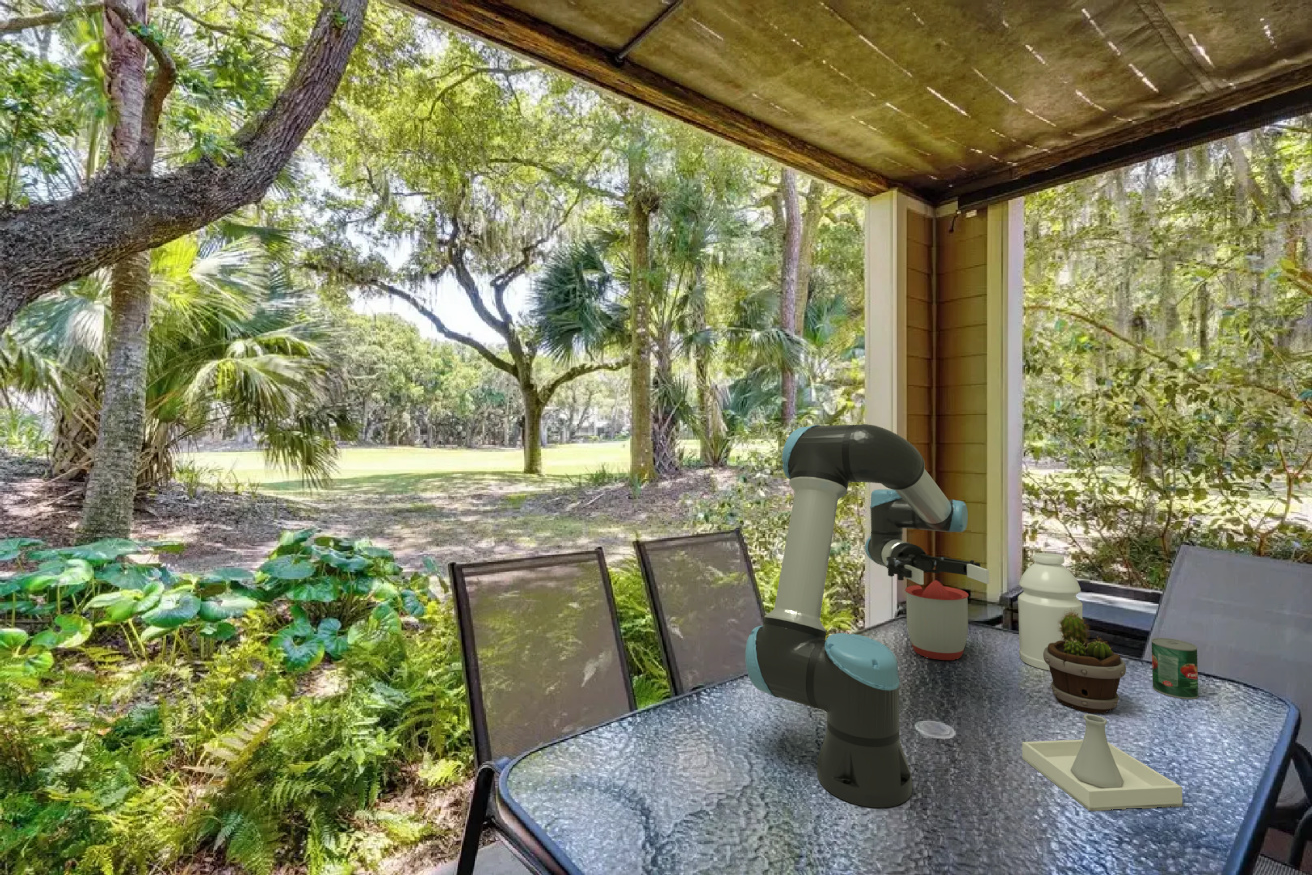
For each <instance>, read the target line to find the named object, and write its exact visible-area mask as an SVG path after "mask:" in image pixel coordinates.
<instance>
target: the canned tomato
mask: <svg viewBox="0 0 1312 875" xmlns="http://www.w3.org/2000/svg"><path fill="white" fill-rule="evenodd" d="M1150 642H1151V667H1152V668H1151V670H1152V672H1151V674H1152V676H1151V677H1152V680H1151V681H1152V689H1153V691H1156V692H1157V693H1159V694H1162V695H1164V696H1168V697H1171V698H1175V697H1176V698H1177V699H1181V700H1196V699H1198V698H1199V676H1198V674H1199V673H1198V671H1199V670H1198V669H1199V668H1198V667H1199V665H1198V646H1197V645H1196V644H1194V643H1191V642H1188V641H1185V640H1180V639H1175V638H1170V637H1169V638H1167V637H1154V638H1151V640H1150ZM1176 698H1175V699H1176Z"/></svg>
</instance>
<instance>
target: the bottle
mask: <svg viewBox="0 0 1312 875" xmlns="http://www.w3.org/2000/svg"><path fill="white" fill-rule="evenodd" d="M1032 560H1033V561H1034V563H1032V564H1031V565H1029V567H1027V569H1026V570H1025V571H1024V572H1023V573H1022V575H1021V577H1020V580H1019V582H1018V585H1019V587H1021V589H1023V592H1021V593H1020V594H1019V595H1018V596H1017V604H1018V606H1017V607H1018V639H1019V640H1018V642H1019V643H1018V645H1019V646H1018V648H1019V650H1018V654H1019V658H1020V659H1021V661H1022V662H1023V663H1026V664H1027V665H1030V666H1032V667H1035V668H1037V669H1041V670H1045V671H1050V668H1049V665H1048V664H1046V662H1045V661H1044V658H1043V652H1044V649H1045V648H1046V647H1048V644H1050V643H1056V642H1057V641H1060V640H1061V639H1064V638H1062V636H1063V634H1062V632H1061V631H1060V630H1059V628H1061V625H1060V624H1058V623H1059V621H1061V620H1059V619H1061V618H1060V617H1062V616H1063V617H1064V618H1065V617H1066V616H1065V615H1068V614H1072V613H1073V611H1074V610H1075V611H1074V613H1075V614H1078V616H1077V617H1079V618H1081V619H1082V617H1083V608H1084V607H1083V602H1082V601H1080V599H1079V598H1078V597H1077V594H1079V593H1080V592H1081V587H1080V584H1079V582H1078V580H1077V578H1076V577H1075V576H1074V574H1073V573H1072V572H1071V571H1070V570H1069V569H1068V568H1067V567H1066V566H1065V565H1063V564H1065V557H1064V555H1062V554H1057V553H1050V552H1049V553H1048V552H1037V553H1034V554H1033V556H1032ZM1070 607H1071V608H1070ZM1071 610H1072V612H1071ZM1066 611H1067V612H1066ZM1068 612H1071V613H1068ZM1066 613H1068V614H1066ZM1074 613H1073V614H1074ZM1063 617H1062V620H1063ZM1058 620H1059V621H1058ZM1058 626H1059V627H1058ZM1058 630H1059V632H1058ZM1061 635H1062V636H1061ZM1063 641H1065V640H1063Z"/></svg>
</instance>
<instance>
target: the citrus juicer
mask: <svg viewBox="0 0 1312 875" xmlns="http://www.w3.org/2000/svg"><path fill="white" fill-rule="evenodd" d="M904 589H905V590H904V591H905V594H906V595H905V596H906V598H905V599H906V600H905V601H906V625H907V626H906V627H907V632H908V636H909V639H910V644H911V646H912V648H913V651H914V652H915V653H917V654H918V655H919V654H920V656H924V657H923V658H925V657H928V658H927V659H933V660H939V661H940V660H941V661H956V660H955V659H957V660H958V659H960V658H962V655H963V654H964V651H965V649H966V648H965V647H966V644H967V640H968V633H969V629H968V628H969V611H968V610H969V609H968V604H969V603H968V597H969V593H968V592H966V591H965V590H962V589H959V588H955V587H949V586H944V585H943V584H942V583H941V582H940V581H939V580H936V579H935V580H933V581H931V582H930V583H929V584H928V585H927V586H926V587H925V588H924V589H923V587H922V586H921V585H920V584H917V585H916V584H915V585H910V586H907V587H906V588H904Z"/></svg>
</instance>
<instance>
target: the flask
mask: <svg viewBox="0 0 1312 875" xmlns="http://www.w3.org/2000/svg"><path fill="white" fill-rule="evenodd" d="M1083 720H1084V721H1085V730H1084V731H1085V732H1084V734H1083V735H1084V736H1083V739H1084V740H1083V739H1082V740H1083V742H1082V745H1081V747H1080V749H1079V752H1078V754H1077V756H1076V759H1075V761H1074V763H1073V765H1072V768H1071V770H1070V771H1071V772H1072V773H1073V774H1074V775H1075V776H1076V777H1077V778H1078V779H1079V780H1081V781H1084V782H1087V783H1090V784H1092V785H1095V786H1098V787H1104V788H1121V786H1122V784H1123V783H1124V782H1123V779H1122V777H1121V774H1120V772H1119V770H1118V767H1117V765H1116V763H1115V761H1114V758H1113V755H1112V753H1111V750H1110V748H1109V745H1108V743H1109V741H1108V739H1107V734H1106V725H1107V724H1108V720H1107V719H1106V718H1105V717H1103V716H1100V715H1096V714H1093V713H1092V714H1091V713H1089V714H1088V713H1085V714H1084V715H1083Z"/></svg>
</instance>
